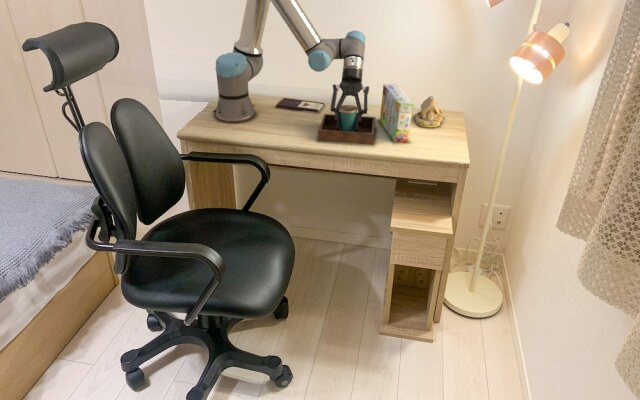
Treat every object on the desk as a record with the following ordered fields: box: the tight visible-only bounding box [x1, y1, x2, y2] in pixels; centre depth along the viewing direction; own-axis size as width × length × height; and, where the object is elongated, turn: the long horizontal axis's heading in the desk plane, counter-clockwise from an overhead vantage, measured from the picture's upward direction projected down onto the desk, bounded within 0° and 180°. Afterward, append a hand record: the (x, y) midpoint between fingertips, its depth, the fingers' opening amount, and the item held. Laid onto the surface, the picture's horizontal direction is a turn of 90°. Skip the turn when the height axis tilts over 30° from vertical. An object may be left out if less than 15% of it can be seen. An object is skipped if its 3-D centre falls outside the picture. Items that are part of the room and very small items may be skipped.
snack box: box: [379, 83, 414, 143], centre depth 177 cm, size 21×6×15 cm, turn 9°
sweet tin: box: [339, 104, 358, 132], centre depth 175 cm, size 6×6×10 cm
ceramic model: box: [414, 95, 444, 128], centre depth 187 cm, size 14×11×10 cm
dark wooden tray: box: [318, 113, 376, 145], centre depth 177 cm, size 20×16×4 cm
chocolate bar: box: [275, 97, 325, 113], centre depth 201 cm, size 9×1×18 cm
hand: (346, 130), depth 173 cm, fingers open, 6 cm apart
